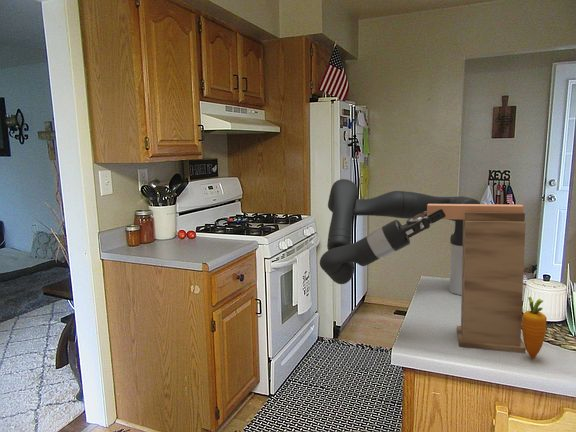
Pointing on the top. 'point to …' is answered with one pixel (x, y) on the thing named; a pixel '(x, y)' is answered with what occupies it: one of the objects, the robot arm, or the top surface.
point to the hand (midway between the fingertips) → (443, 209)
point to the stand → (492, 281)
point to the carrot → (533, 328)
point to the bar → (471, 209)
